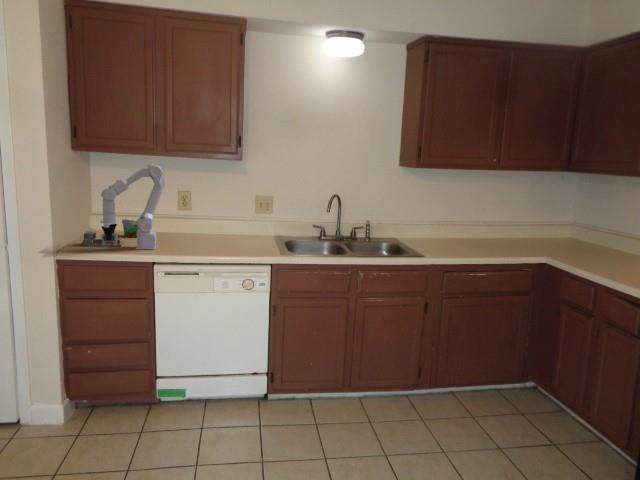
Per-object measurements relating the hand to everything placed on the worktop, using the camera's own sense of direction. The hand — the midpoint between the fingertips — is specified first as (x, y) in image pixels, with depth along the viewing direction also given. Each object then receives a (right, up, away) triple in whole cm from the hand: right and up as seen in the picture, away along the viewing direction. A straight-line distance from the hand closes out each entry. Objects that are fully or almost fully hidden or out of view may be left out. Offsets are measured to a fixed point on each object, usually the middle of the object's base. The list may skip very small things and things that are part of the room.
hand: (109, 239), depth 248 cm
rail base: (-9, -3, +10) cm, 14 cm away
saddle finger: (0, -3, +1) cm, 3 cm away
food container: (-3, +1, +34) cm, 34 cm away
